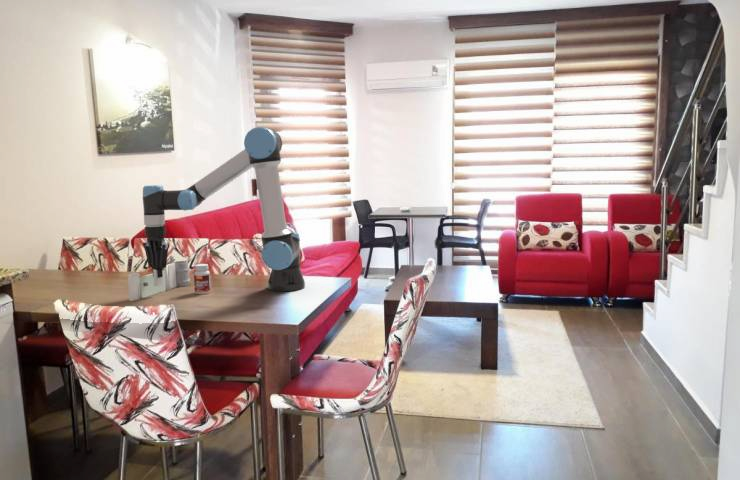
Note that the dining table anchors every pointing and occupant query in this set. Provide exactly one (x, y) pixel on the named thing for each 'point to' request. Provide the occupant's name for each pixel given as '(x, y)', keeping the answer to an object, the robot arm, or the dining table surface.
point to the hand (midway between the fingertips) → (158, 285)
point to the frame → (135, 284)
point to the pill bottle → (202, 279)
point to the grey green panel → (150, 285)
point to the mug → (181, 272)
